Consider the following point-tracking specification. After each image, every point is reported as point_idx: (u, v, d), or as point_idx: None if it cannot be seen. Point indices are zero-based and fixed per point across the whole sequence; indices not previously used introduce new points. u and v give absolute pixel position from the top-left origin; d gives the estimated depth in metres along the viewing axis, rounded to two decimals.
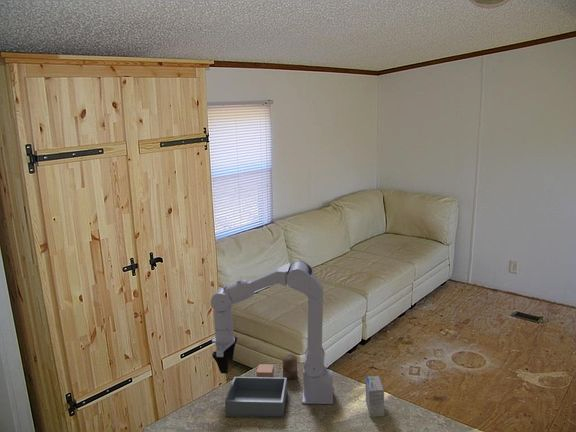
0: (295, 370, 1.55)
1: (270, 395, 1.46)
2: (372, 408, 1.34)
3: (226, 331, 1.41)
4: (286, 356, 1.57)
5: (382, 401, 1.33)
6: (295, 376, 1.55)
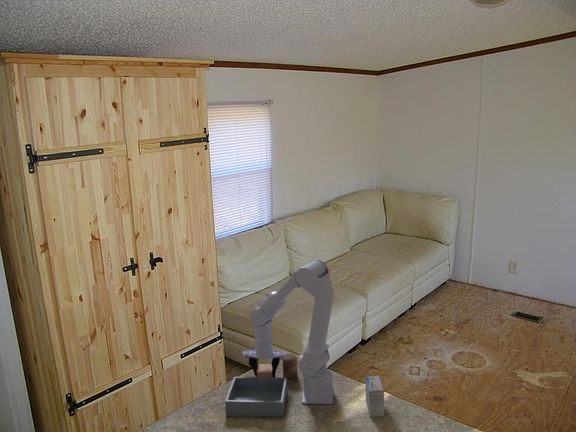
0: (295, 370, 1.55)
1: (270, 395, 1.46)
2: (372, 408, 1.34)
3: (255, 343, 1.51)
4: None
5: (382, 401, 1.33)
6: (295, 376, 1.55)
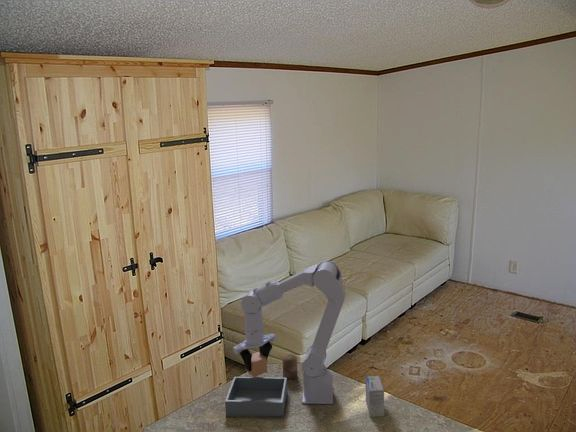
0: (295, 370, 1.55)
1: (270, 395, 1.46)
2: (372, 408, 1.34)
3: (249, 333, 1.43)
4: (286, 356, 1.57)
5: (382, 401, 1.33)
6: (295, 376, 1.55)
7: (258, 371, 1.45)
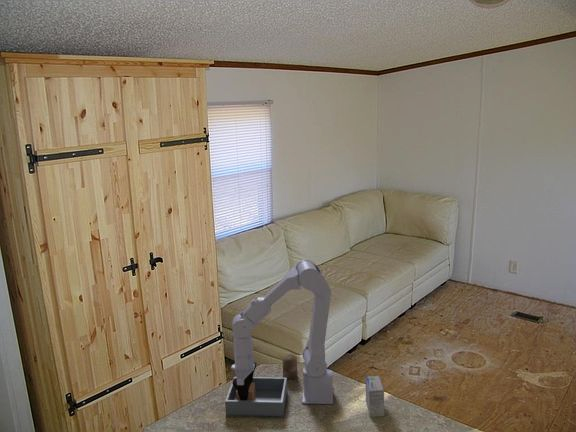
0: (295, 370, 1.55)
1: (270, 395, 1.46)
2: (372, 408, 1.34)
3: (246, 358, 1.37)
4: (286, 356, 1.57)
5: (382, 401, 1.33)
6: (295, 376, 1.55)
7: (253, 399, 1.42)
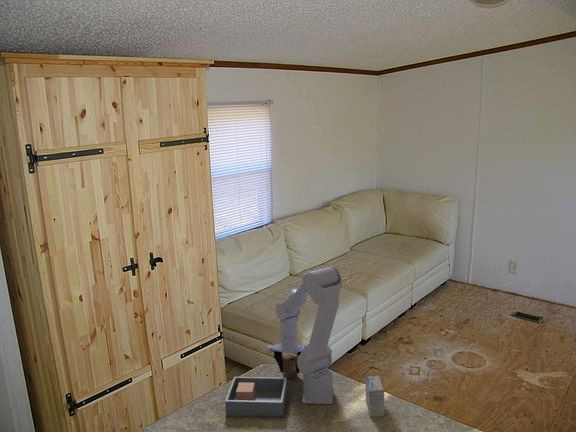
0: (295, 370, 1.55)
1: (270, 395, 1.46)
2: (372, 408, 1.34)
3: (280, 337, 1.53)
4: (286, 356, 1.57)
5: (382, 401, 1.33)
6: (295, 376, 1.55)
7: (253, 399, 1.42)
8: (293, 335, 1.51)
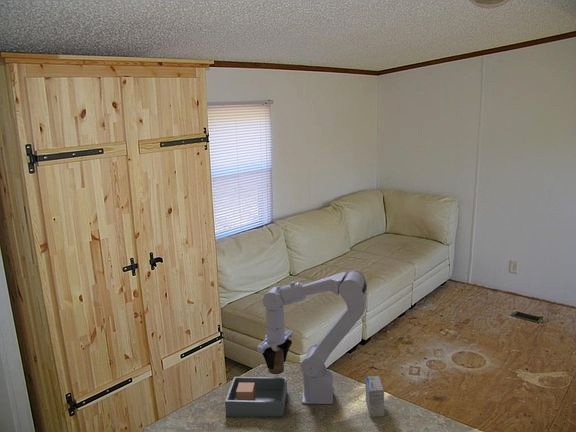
0: (283, 360, 1.47)
1: (270, 395, 1.46)
2: (372, 408, 1.34)
3: (272, 330, 1.42)
4: None
5: (382, 401, 1.33)
6: (283, 366, 1.47)
7: (253, 399, 1.42)
8: (283, 323, 1.43)
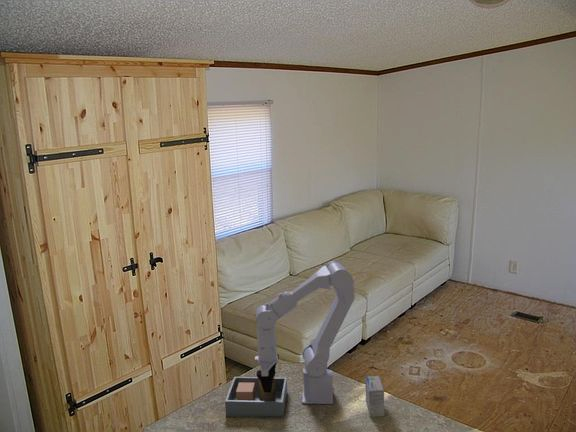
0: None
1: None
2: (372, 408, 1.34)
3: (270, 349, 1.37)
4: None
5: (382, 401, 1.33)
6: None
7: (253, 399, 1.42)
8: None
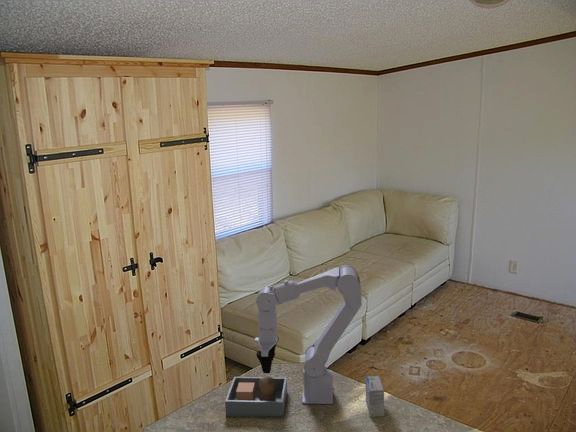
0: None
1: None
2: (372, 408, 1.34)
3: (270, 331, 1.39)
4: (262, 383, 1.40)
5: (382, 401, 1.33)
6: None
7: (253, 399, 1.42)
8: (276, 323, 1.41)
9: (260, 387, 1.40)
